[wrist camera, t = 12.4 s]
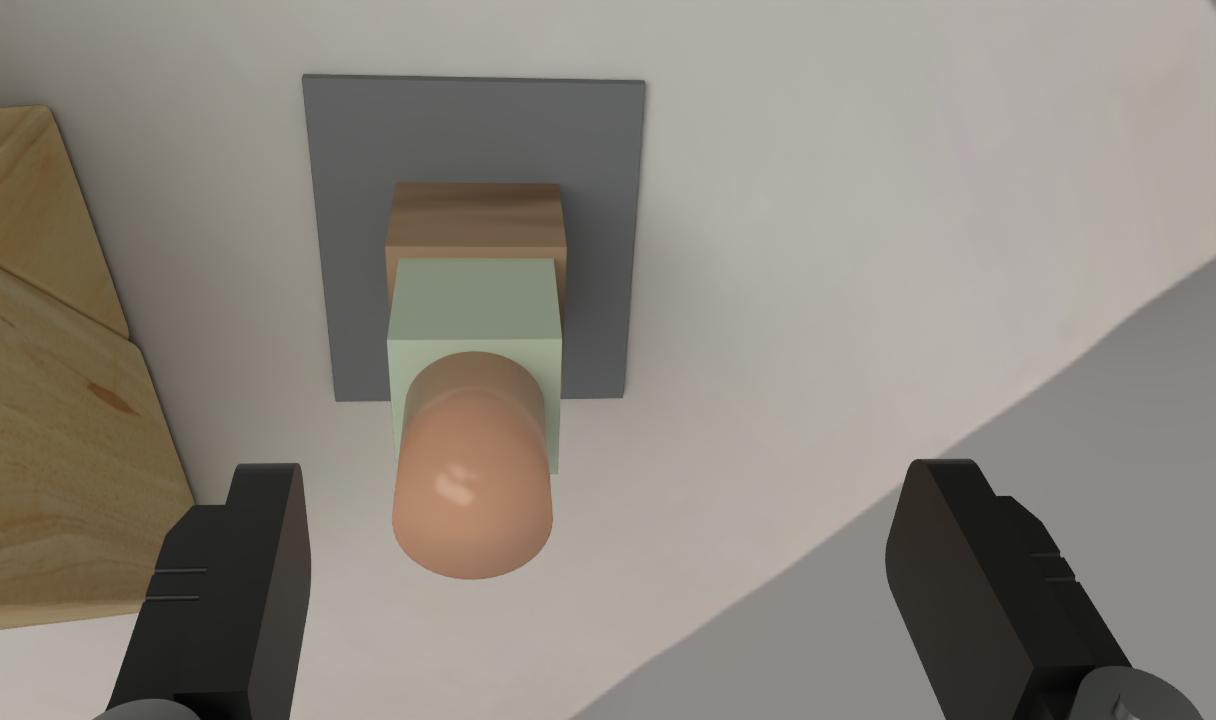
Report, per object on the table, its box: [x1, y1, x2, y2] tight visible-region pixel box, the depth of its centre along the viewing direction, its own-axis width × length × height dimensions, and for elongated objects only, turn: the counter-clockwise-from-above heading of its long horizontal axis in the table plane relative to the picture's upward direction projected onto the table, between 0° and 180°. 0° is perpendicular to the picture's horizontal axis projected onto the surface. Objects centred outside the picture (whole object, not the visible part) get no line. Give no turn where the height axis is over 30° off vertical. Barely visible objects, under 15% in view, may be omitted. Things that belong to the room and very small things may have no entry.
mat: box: [302, 74, 645, 402], centre depth 50 cm, size 16×14×1 cm
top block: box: [387, 258, 562, 476], centre depth 42 cm, size 6×6×6 cm
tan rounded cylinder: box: [392, 351, 553, 579], centre depth 37 cm, size 5×5×6 cm
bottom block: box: [385, 182, 567, 394], centre depth 47 cm, size 7×7×6 cm
